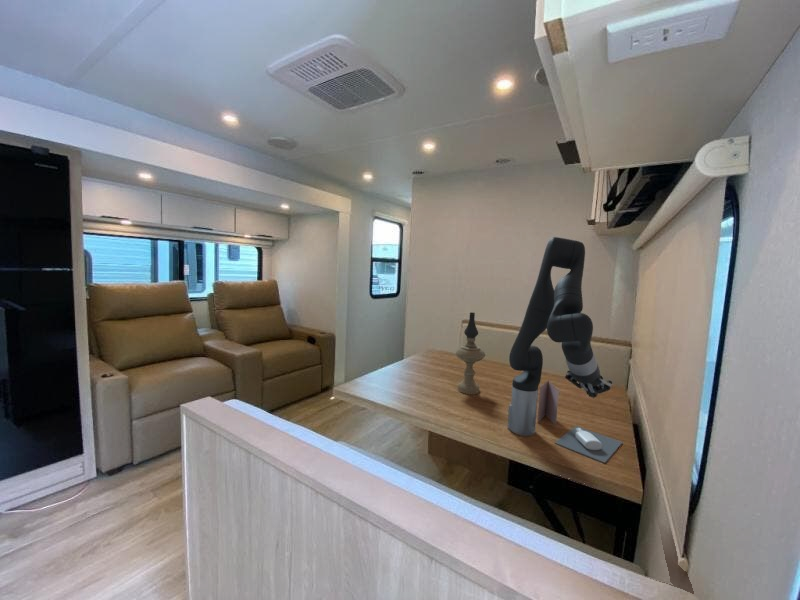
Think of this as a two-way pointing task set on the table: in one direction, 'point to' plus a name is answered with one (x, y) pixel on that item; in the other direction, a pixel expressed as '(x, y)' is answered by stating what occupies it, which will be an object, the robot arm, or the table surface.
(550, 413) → the greeting card
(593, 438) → the eye dropper bottle
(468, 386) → the oil lamp
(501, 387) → the table surface
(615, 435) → the table surface
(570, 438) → the mat
